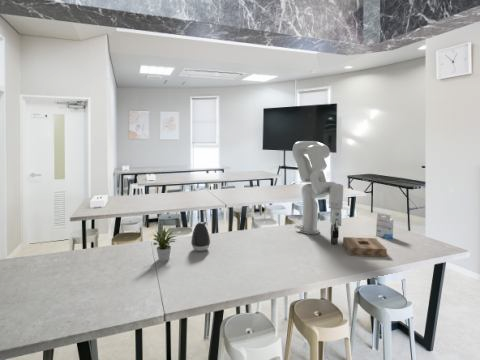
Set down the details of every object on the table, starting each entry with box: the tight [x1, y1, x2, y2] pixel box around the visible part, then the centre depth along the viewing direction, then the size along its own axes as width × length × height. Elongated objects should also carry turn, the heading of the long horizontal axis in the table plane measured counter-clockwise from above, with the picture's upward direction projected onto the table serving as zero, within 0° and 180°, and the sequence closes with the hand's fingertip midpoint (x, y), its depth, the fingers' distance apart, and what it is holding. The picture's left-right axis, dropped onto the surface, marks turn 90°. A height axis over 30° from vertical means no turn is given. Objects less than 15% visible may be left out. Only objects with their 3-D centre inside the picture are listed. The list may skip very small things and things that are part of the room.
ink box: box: [375, 212, 394, 240], centre depth 192 cm, size 8×5×15 cm, turn 39°
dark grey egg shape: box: [190, 221, 211, 252], centre depth 169 cm, size 10×10×15 cm
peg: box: [330, 223, 340, 245], centre depth 179 cm, size 4×4×12 cm
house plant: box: [152, 227, 177, 262], centre depth 154 cm, size 14×14×16 cm
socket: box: [342, 236, 388, 258], centre depth 169 cm, size 18×18×4 cm
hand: (334, 235), depth 179 cm, fingers open, 5 cm apart
